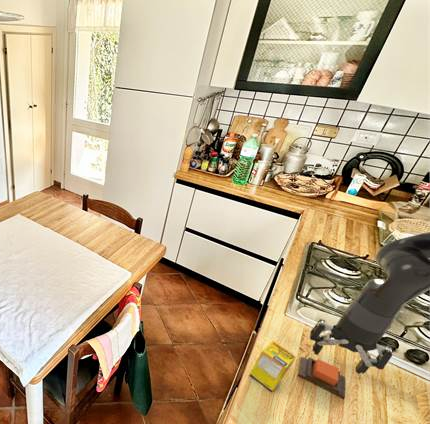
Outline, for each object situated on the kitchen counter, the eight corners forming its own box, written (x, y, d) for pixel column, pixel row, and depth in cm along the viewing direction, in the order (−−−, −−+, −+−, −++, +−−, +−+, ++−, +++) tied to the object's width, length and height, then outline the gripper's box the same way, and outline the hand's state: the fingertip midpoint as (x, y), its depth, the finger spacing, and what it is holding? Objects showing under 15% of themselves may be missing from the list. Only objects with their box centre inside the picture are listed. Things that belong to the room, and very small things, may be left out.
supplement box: (281, 380, 84) (297, 356, 79) (271, 393, 81) (286, 368, 76) (259, 363, 89) (272, 339, 83) (248, 375, 86) (262, 350, 80)
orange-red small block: (333, 374, 85) (338, 368, 83) (333, 387, 82) (338, 381, 80) (313, 365, 87) (317, 358, 86) (311, 377, 84) (316, 370, 83)
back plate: (343, 379, 85) (347, 375, 84) (343, 399, 80) (347, 395, 79) (300, 358, 90) (302, 354, 89) (297, 375, 86) (300, 371, 84)
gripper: (406, 324, 71) (371, 366, 79) (328, 296, 79) (303, 337, 87) (411, 346, 66) (373, 389, 74) (328, 314, 74) (301, 356, 82)
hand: (335, 361), depth 81 cm, fingers open, 8 cm apart
